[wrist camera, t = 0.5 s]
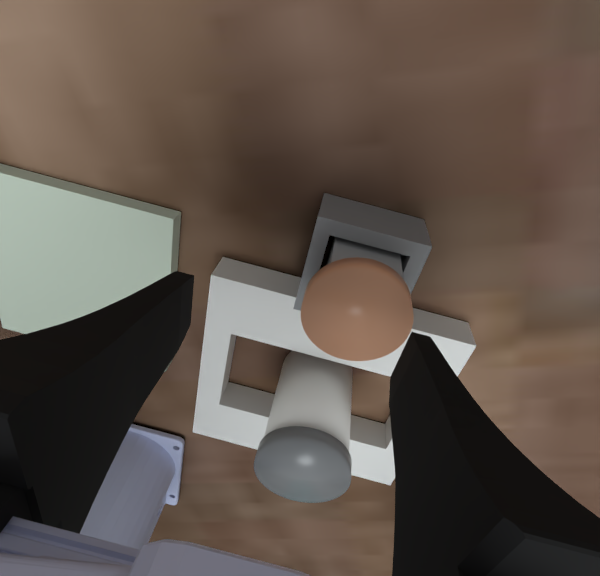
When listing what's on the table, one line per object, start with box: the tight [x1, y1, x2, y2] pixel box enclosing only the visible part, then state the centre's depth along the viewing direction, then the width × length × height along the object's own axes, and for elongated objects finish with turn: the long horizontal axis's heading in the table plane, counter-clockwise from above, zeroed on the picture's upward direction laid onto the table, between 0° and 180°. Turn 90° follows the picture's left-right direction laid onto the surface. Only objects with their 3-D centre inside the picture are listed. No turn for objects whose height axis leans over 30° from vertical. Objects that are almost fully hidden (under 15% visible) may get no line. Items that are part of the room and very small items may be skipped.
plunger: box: [301, 236, 414, 361], centre depth 18 cm, size 4×4×4 cm
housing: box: [193, 193, 476, 485], centre depth 23 cm, size 18×14×3 cm
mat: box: [0, 163, 181, 372], centre depth 24 cm, size 11×11×1 cm
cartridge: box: [254, 350, 353, 503], centre depth 23 cm, size 5×5×7 cm
